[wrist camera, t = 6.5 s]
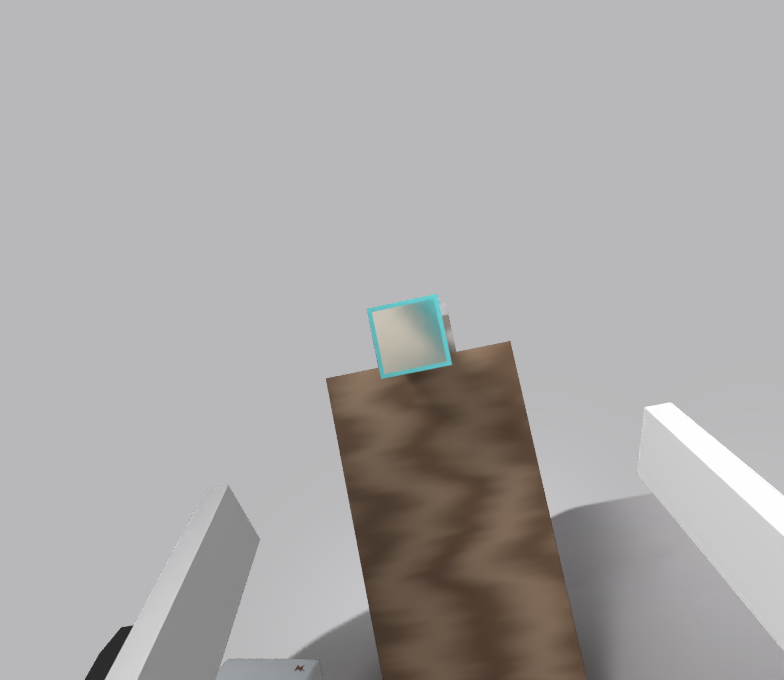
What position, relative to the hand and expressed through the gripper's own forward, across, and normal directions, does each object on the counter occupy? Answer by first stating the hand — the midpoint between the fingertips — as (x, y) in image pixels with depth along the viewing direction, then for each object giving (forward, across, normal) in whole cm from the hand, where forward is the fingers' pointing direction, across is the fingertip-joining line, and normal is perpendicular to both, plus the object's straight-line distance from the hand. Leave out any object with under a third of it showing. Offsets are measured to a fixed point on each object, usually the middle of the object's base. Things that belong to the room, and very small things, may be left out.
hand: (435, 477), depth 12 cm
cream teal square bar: (+16, 0, -5) cm, 17 cm away
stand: (+6, 0, -34) cm, 34 cm away
